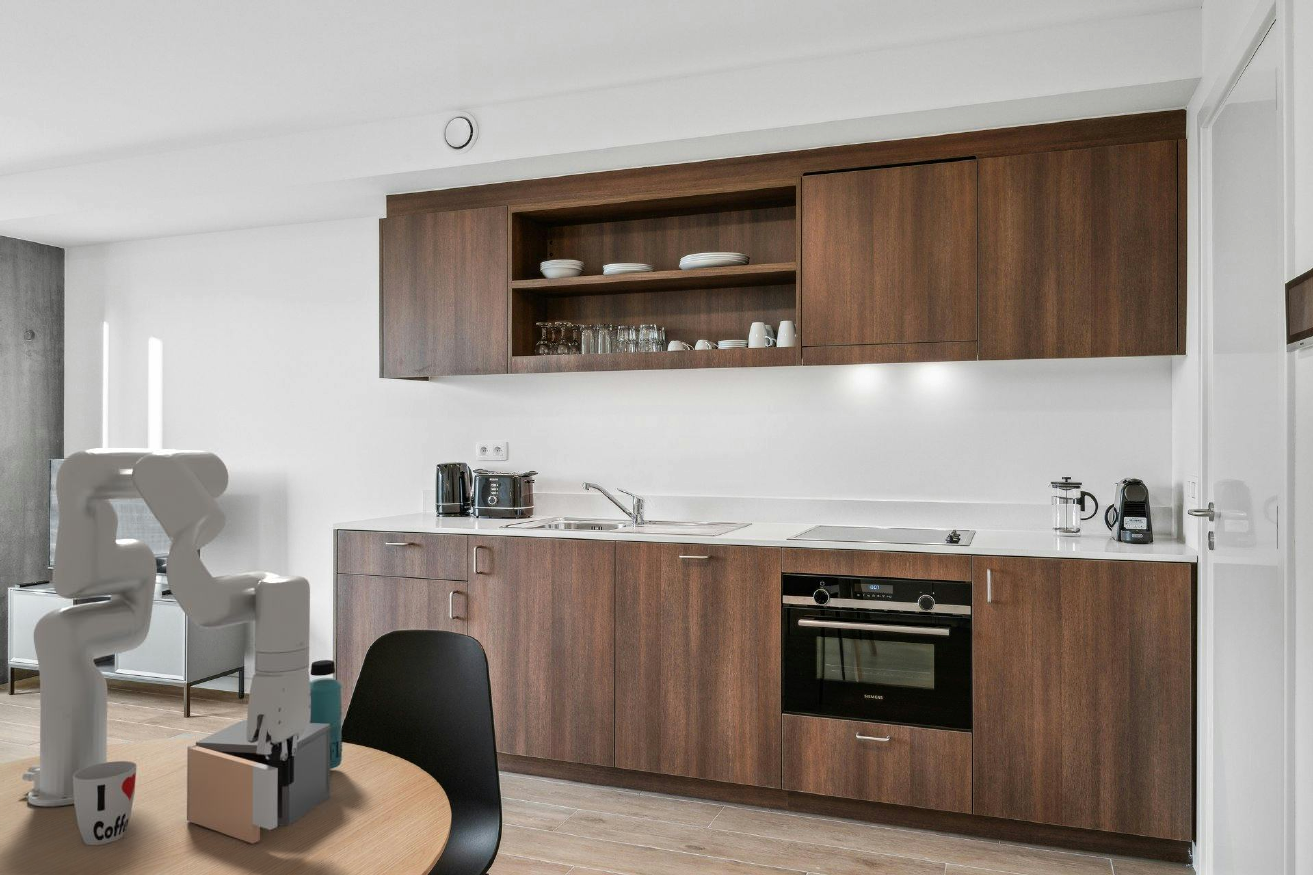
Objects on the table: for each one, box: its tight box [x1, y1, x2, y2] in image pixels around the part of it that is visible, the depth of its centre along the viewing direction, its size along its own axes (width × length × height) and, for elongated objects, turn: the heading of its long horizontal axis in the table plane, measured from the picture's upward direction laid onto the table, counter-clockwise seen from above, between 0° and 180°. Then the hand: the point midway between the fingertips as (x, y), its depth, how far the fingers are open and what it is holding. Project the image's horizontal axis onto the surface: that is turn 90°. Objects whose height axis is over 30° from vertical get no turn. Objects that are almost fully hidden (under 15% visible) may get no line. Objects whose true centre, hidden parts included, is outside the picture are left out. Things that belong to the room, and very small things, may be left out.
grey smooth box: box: [195, 719, 331, 826], centre depth 143 cm, size 16×12×12 cm
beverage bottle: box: [310, 659, 343, 770], centre depth 159 cm, size 6×7×20 cm
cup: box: [73, 760, 137, 846], centre depth 132 cm, size 8×8×10 cm
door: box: [186, 745, 278, 844], centre depth 132 cm, size 21×1×11 cm, turn 59°
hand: (281, 783), depth 131 cm, fingers closed
